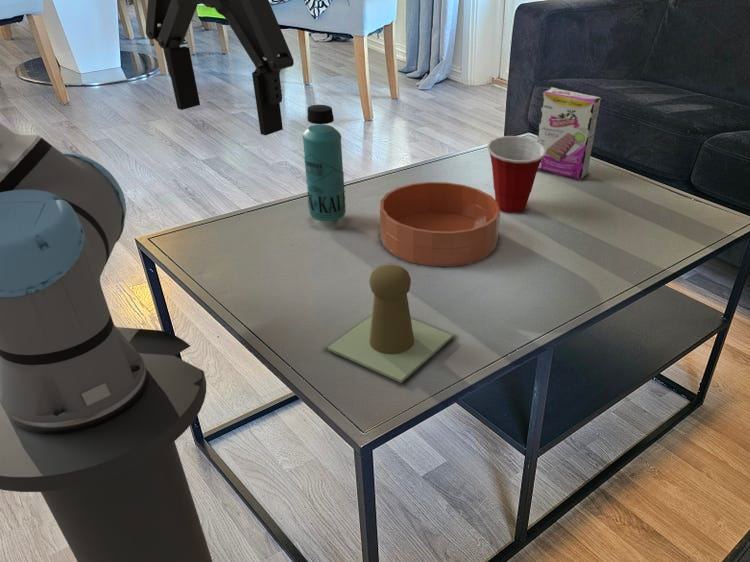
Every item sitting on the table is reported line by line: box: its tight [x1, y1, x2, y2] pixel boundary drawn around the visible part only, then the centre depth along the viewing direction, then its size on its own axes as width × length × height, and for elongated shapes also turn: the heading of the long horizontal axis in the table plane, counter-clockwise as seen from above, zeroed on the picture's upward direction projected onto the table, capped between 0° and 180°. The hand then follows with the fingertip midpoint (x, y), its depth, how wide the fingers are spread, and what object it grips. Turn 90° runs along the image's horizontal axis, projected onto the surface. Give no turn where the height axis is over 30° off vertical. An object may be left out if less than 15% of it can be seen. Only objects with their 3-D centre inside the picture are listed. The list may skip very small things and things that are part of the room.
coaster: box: [327, 315, 454, 384], centre depth 88 cm, size 12×12×1 cm
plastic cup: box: [486, 135, 546, 214], centre depth 121 cm, size 11×11×12 cm
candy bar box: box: [536, 86, 602, 181], centre depth 136 cm, size 11×5×16 cm, turn 65°
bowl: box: [379, 181, 501, 267], centre depth 111 cm, size 20×20×6 cm
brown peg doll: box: [368, 263, 414, 354], centre depth 84 cm, size 6×6×11 cm
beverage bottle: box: [301, 104, 347, 222], centre depth 109 cm, size 6×7×20 cm
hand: (229, 119), depth 76 cm, fingers open, 13 cm apart
